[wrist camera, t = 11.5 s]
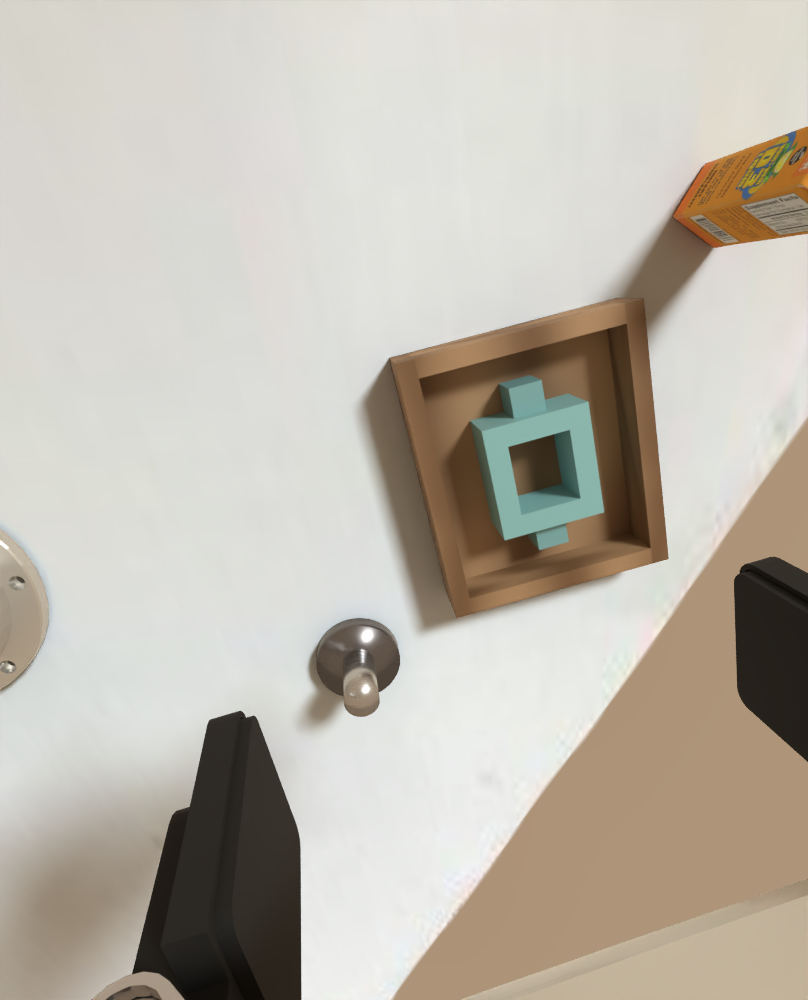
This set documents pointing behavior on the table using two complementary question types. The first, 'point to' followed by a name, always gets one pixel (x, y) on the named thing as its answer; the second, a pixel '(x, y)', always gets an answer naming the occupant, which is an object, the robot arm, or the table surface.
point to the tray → (537, 450)
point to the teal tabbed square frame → (576, 457)
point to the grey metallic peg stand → (358, 663)
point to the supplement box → (751, 194)
